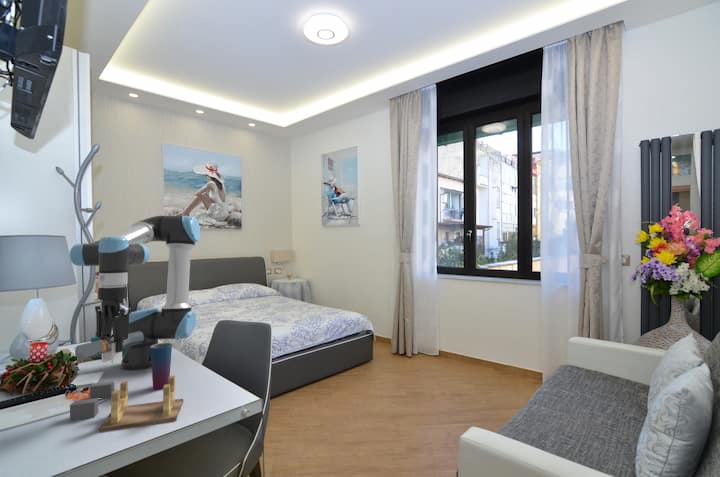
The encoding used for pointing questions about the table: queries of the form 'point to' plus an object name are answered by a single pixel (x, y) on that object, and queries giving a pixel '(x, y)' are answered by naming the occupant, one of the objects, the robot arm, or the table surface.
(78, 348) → the brushed aluminium bar
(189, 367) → the table surface
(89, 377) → the hard drive
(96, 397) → the grey blocks
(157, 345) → the cup
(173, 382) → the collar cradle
